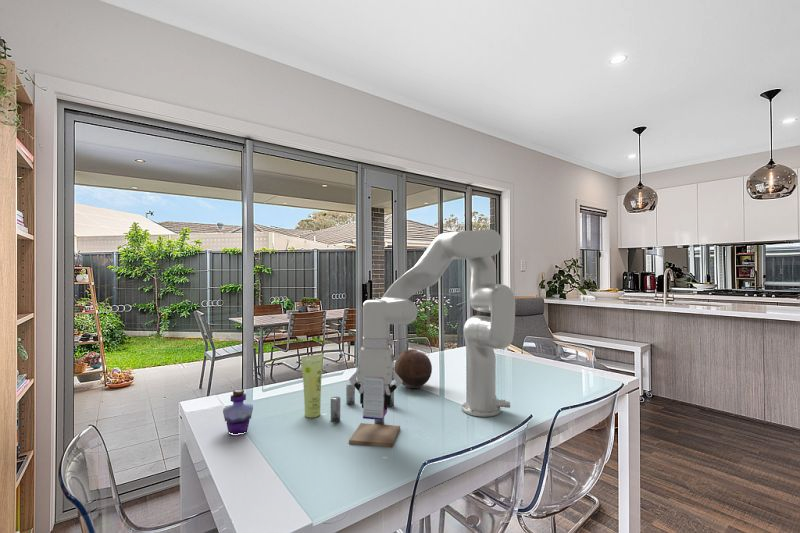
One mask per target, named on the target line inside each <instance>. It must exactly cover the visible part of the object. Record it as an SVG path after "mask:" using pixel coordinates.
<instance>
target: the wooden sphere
mask: <svg viewBox="0 0 800 533" xmlns="http://www.w3.org/2000/svg"><path fill="white" fill-rule="evenodd" d="M396 358H397V359H396V360H395V361H394V372H395V373H396V374H397V375H398V376H399V377H400V378H401V379H402V381H403V382H402V384H401V385H402V386H404V387H406V388H411V389H417V388H421V387H422V386H424V385H425V384H426V383H428V381H429V380H430V378H431V376H432V373H433V372H432V370H433V366H432V363H431V362H432V361H431V359H430V358H429V357H428V355H427V354H426V353H424V352H423V351H421V350H419V349H414V348H413V349H408V350H407V349H406V350H404V351H402V352H401V353H400V354H399V355H398V357H396Z"/></svg>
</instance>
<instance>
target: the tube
mask: <svg viewBox="0 0 800 533" xmlns="http://www.w3.org/2000/svg"><path fill="white" fill-rule="evenodd" d="M323 360H324V353H320V354H312V355H311V354H310V355H305V356H300V361H301V371H302V382H303V383H302V384H303V398H304V399H303V401H304V403H303V404H304V417H306V418H317V417H319V416H320V415H321V402H322V400H321V398H322V397H321V396H322V394H321V393H322V375H323V374H322V373H323V372H322V371H323V362H324V361H323Z"/></svg>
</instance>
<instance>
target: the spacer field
mask: <svg viewBox="0 0 800 533" xmlns="http://www.w3.org/2000/svg"><path fill="white" fill-rule="evenodd" d="M390 385H391V386H392V385H393V384H392V383H391V384H390ZM345 388H346V389H345V391H346V392H345V394H346V396H345V397H346V400H345V401H346V402H345V404H346V405H348V406H354V405H355V404H356V388H355V386H354V385H353V384H352V383H351V382H350V381H349V382H346V385H345ZM394 406H395V390H394V391H393V392H392V393H391V405H390V406H389V407H388V408H394ZM373 420H374V423H373V424H381V425H385V416H384V417H383V419H382V420H375V419H373ZM330 422H331V423H333V422H336V423H340V422H341V396H331V398H330Z"/></svg>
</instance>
